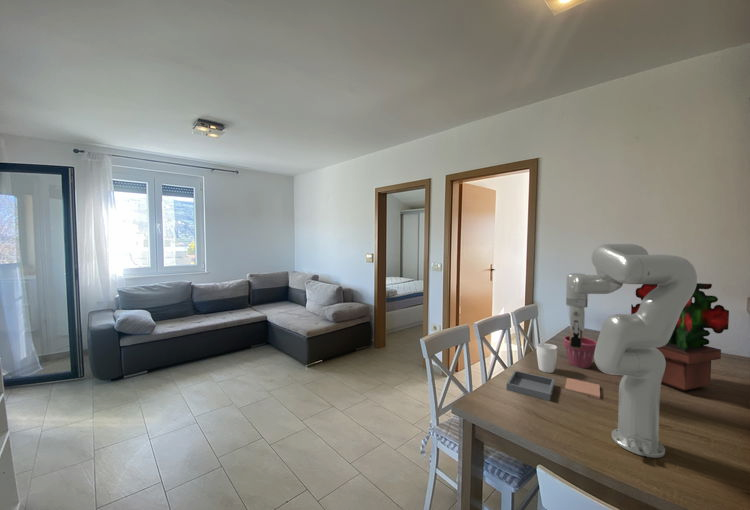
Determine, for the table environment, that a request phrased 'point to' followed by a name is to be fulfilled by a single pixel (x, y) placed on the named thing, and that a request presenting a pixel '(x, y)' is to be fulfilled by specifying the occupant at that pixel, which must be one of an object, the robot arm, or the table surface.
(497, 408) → the table surface
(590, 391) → the terracotta board
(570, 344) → the walnut peg
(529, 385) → the bin
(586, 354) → the plant pot
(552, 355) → the cup
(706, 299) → the potted plant
